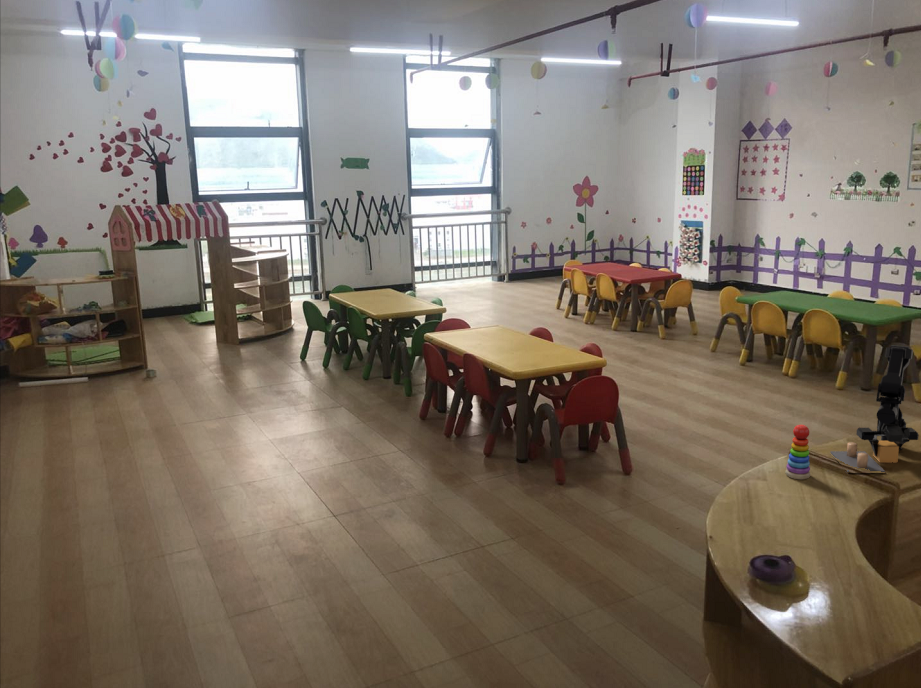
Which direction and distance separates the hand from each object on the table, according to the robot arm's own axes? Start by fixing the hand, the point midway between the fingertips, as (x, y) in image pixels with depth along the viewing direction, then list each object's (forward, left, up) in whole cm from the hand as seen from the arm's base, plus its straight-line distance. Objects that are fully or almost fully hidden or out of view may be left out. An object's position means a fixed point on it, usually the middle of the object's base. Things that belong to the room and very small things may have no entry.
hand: (885, 456), depth 266 cm
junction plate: (+4, -11, -1) cm, 12 cm away
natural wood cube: (0, 0, -1) cm, 1 cm away
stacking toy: (+15, -34, -1) cm, 37 cm away
